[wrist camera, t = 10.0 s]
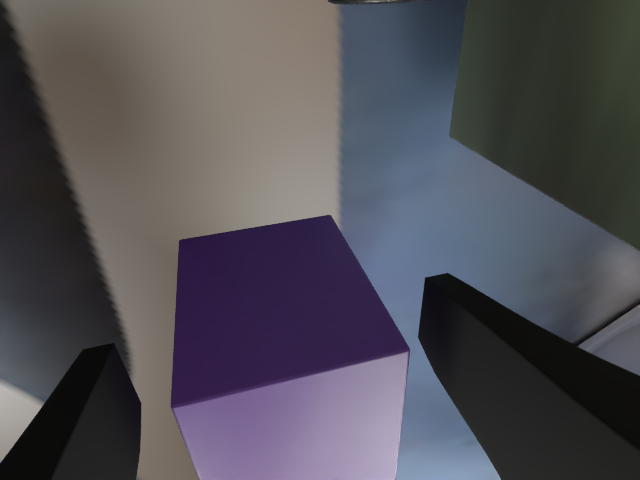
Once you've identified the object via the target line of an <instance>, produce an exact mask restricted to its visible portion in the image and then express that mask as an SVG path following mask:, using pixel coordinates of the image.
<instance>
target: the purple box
mask: <svg viewBox="0 0 640 480" xmlns="http://www.w3.org/2000/svg"><path fill="white" fill-rule="evenodd" d="M409 355H410V348H409V346H408V345H407V343H406V341H405V340H404V338H403V336H402V335H401V333H400V331H399V330H398V328H397V326H396V324H395V323H394V321H393V319H392V318H391V316H390V314H389V313H388V311H387V309H386V308H385V306H384V304H383V303H382V301H381V299H380V297H379V296H378V294H377V292H376V291H375V289H374V287H373V286H372V284H371V282H370V281H369V279H368V277H367V276H366V274H365V272H364V270H363V269H362V267H361V265H360V264H359V262H358V260H357V259H356V257H355V255H354V254H353V252H352V250H351V249H350V247H349V245H348V244H347V242H346V240H345V238H344V237H343V235H342V233H341V232H340V230H339V228H338V227H337V225H336V223H335V222H334V220H333V218H332V217H331V215H326V216H321V217H314V218H308V219H302V220H297V221H291V222H285V223H279V224H272V225H266V226H261V227H255V228H248V229H243V230H236V231H230V232H225V233H218V234H213V235H206V236H200V237H194V238H188V239H182V240H180V241H179V253H178V274H177V293H176V313H175V333H174V352H173V373H172V392H171V408H172V411H173V414H174V416H175V419H176V421H177V424H178V427H179V429H180V432H181V434H182V437H183V439H184V442H185V445H186V447H187V450H188V453H189V455H190V458H191V460H192V463H193V466H194V468H195V471H196V473H197V476H198V479H199V480H396V471H397V462H398V454H399V445H400V436H401V427H402V418H403V409H404V400H405V391H406V382H407V373H408V364H409Z"/></svg>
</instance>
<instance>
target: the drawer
mask: <svg viewBox="0 0 640 480" xmlns="http://www.w3.org/2000/svg"><path fill="white" fill-rule="evenodd" d="M418 1H428V0H328V2H331V3H334V4H386V3H405V2H418ZM450 137H451V138H452V139H454V140H456V141H457V142H459V143H461V144H462V145H464V146H466V147H467V148H469V149H471V150H472V151H474V152H476V153H477V154H479V155H481V156H482V157H484V158H486V159H487V160H489V161H491V162H492V163H494V164H496V165H497V166H499V167H501V168H502V169H504V170H506V171H507V172H509V173H511V174H512V175H514V176H516V177H517V178H519V179H521V180H522V181H524V182H525V183H527V184H529V185H530V186H532V187H534V188H535V189H537V190H539V191H540V192H542V193H544V194H545V195H547V196H549V197H550V198H552V199H554V200H555V201H557V202H559V203H560V204H562V205H564V206H565V207H567V208H569V209H570V210H572V211H574V212H575V213H577V214H579V215H580V216H582V217H584V218H585V219H587V220H589V221H590V222H592V223H594V224H595V225H597V226H599V227H600V228H602V229H604V230H605V231H607V232H609V233H610V234H612V235H614V236H615V237H617V238H619V239H620V240H622V241H624V242H625V243H627V244H629V245H630V246H632V247H634V248H635V249H637V250H638V251H640V0H467V6H466V14H465V21H464V29H463V36H462V44H461V51H460V59H459V67H458V74H457V82H456V89H455V97H454V104H453V112H452V120H451V127H450Z"/></svg>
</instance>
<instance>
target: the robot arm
mask: <svg viewBox="0 0 640 480" xmlns="http://www.w3.org/2000/svg"><path fill="white" fill-rule="evenodd" d="M418 338H419V340H420V343H421V345H422V347H423V349H424V351H425V354H426V356H427V358H428V360H429V362H430V364H431V366H432V368H433V370H434V372H435V374H436V376H437V377H438V379H439V380H440V382H441V384H442V385H443V387H444V388H445V390H446V392H447V393H448V395H449V396H450V398H451V399H452V401H453V403H454V404H455V406H456V407H457V409H458V410H459V412H460V414H461V415H462V417H463V418H464V420H465V421H466V423H467V424H468V426H469V428H470V429H471V431H472V432H473V434H474V435H475V437H476V438H477V440H478V442H479V443H480V445H481V446H482V448H483V449H484V451H485V452H486V454H487V456H488V457H489V459H490V461H491V462H492V464H493V466H494V467H495V469H496V471H497V472H498V474H499V476H500V478H501V480H640V304H639V305H638V306H636V307H635V308H633V309H632V310H630V311H629V312H627V313H626V314H624V315H623V316H621V317H620V318H618V319H617V320H615V321H614V322H612V323H611V324H610V325H608V326H607V327H605V328H604V329H602V330H601V331H599V332H598V333H596V334H595V335H593V336H592V337H590V338H589V339H587V340H586V341H584V342H583V343H581V344H580V345H578V346H575V345H574V344H572V343H570V342H568V341H566V340H564V339H562V338H560V337H558V336H556V335H554V334H552V333H551V332H549V331H547V330H545V329H543V328H541V327H540V326H538V325H536V324H534V323H533V322H531V321H529V320H527V319H525V318H524V317H522V316H520V315H519V314H517V313H515V312H513V311H512V310H510V309H508V308H507V307H505V306H503V305H501V304H500V303H498V302H496V301H495V300H493V299H491V298H490V297H488V296H486V295H485V294H483V293H481V292H480V291H478V290H476V289H475V288H473V287H471V286H470V285H468V284H466V283H465V282H463V281H461V280H459V279H458V278H456V277H454V276H452V275H450V274H449V273H446V274H441V275H436V276H431V277H426V278H425V283H424V292H423V300H422V308H421V317H420V325H419V334H418ZM140 437H141V402H140V400H139V398H138V395H137V393H136V391H135V389H134V386H133V384H132V382H131V380H130V377H129V375H128V373H127V371H126V369H125V366H124V364H123V362H122V360H121V357H120V355H119V353H118V351H117V349H116V346H115V344H114V343H112V344H107V345H102V346H97V347H93V348H88V349H83V351H82V352H81V353H80V354H79V356H78V357H77V359H76V360H75V361H74V363H73V364H72V365H71V367H70V368H69V370H68V371H67V372H66V374H65V375H64V377H63V378H62V380H61V381H60V382H59V384H58V385H57V387H56V388H55V389H54V391H53V392H52V394H51V395H50V397H49V398H48V399H47V401H46V402H45V404H44V405H43V406H42V408H41V409H40V411H39V412H38V414H37V415H36V416H35V417H34V419H33V420H32V422H31V423H30V424H29V426H28V427H27V428H26V430H25V431H24V432H23V434H22V435H21V436H20V438H19V439H18V441H17V442H16V443H15V445H14V446H13V447H12V449H11V450H10V451H9V453H8V454H7V455H6V456H5V458H4V459H3V460H2V462H1V463H0V480H136V476H137V469H138V462H139V454H140Z"/></svg>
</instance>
